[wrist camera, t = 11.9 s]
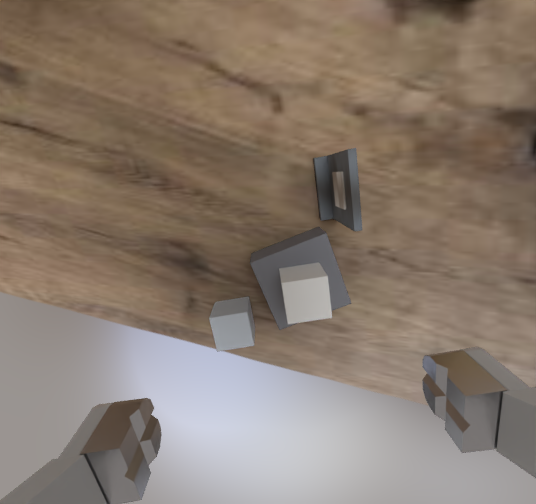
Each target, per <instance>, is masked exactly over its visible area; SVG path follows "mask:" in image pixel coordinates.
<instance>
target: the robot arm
mask: <svg viewBox="0 0 536 504" xmlns="http://www.w3.org/2000/svg"><path fill="white" fill-rule="evenodd" d="M423 368H424V369H425V371H426V372H427V374H426V376H425V377H424V378H423V391H424V395H425V398H426V401H427V403H428V405H429V407H430V408H431V410H432V411H433V413H434V414H435V415H436V416H438V417H439V418H441V419H443V420H444V421H445V430H446V431H447V433H448V434H449V435H450V437H451V438H452V440H453V441H454V443H455V444H456V445H457V447H458V448H459V449H460V451H461V452H462V453H466V452H475V451H484V450H492V449H497V450H496V451H497V452H499V453H500V454H501V455H503V456H504V457H506V458H507V459H509V460H510V461H512V462H513V463H515V464H516V465H518V466H519V467H520V468H522V469H524V470H525V471H526V472H528V473H529V474H531V475H532V476H534V477H535V478H536V387H532V388H530V387H529V386H528V385H526V384H525V383H524V382H523V381H522V380H520V379H519V378H518V377H517V376H515V375H514V374H513V373H512V372H511V371H509V370H508V369H507V368H506V367H505V366H503V365H502V364H501V363H500V362H498V361H497V360H496V359H495V358H494V357H492V356H491V355H490V354H489V353H487V352H486V351H485V350H484V349H482V348H480V347H472V348H466V349H460V350H456V351H450V352H444V353H438V354H431V355H425V356H424V358H423ZM153 409H154V407H153V405H152V402H151V400H150V399H148V398H144V399H136V400H128V401H120V402H114V403H107V404H99V405H97V406H95V407H94V408H92V410H91V411H90V413H89V414H88V416H87V417H86V418H85V420H84V421H83V423H82V424H81V426H80V427H79V429H78V430H77V432H76V433H75V434H74V436H73V437H72V439H71V440H70V442H69V443H68V445H67V446H66V448H65V449H64V451H63V452H62V453H61V455H60V456H59V458H58V459H53V460H51V461H50V462H49V463H47V464H46V465H45V466H43V467H42V468H41V469H40V470H38V471H37V472H36V473H35V474H33V475H32V476H31V477H29V478H28V479H27V480H26V481H24V482H23V483H22V484H20V485H19V486H18V487H17V488H15V489H14V490H13V491H12V492H10V493H9V494H8V495H6V496H5V497H4V498H3V499H1V500H0V504H122V503H127V502H133V501H138V500H142V497H143V494H144V491H145V488H146V486H147V483H148V480H149V477H150V474H151V472H150V469H149V466H148V465H149V464H150V463H151V462H152V461H153V460H154V459H155V458H156V457H157V454H158V451H159V448H160V441H161V428H160V424H159V421H158V419H156V418H155V417H154V416H152V415H151V414H152V411H153Z"/></svg>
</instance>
